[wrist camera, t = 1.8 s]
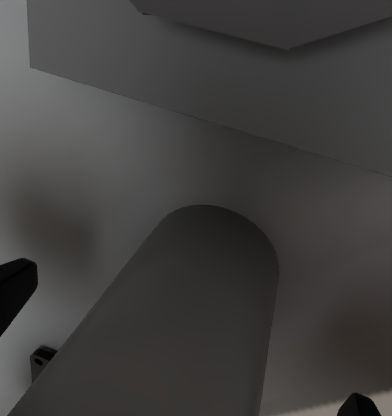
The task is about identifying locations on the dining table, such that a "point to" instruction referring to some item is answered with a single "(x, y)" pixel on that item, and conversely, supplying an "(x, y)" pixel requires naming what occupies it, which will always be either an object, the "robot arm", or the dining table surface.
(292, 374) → the dining table surface
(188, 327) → the grey cylinder
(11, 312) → the robot arm
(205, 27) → the grey notched ring
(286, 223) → the dining table surface
